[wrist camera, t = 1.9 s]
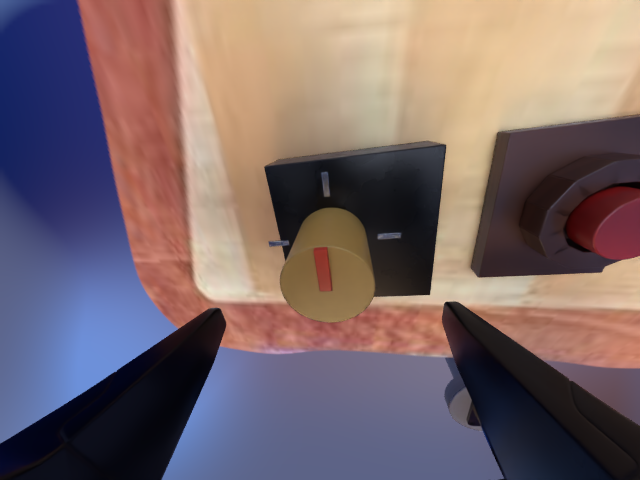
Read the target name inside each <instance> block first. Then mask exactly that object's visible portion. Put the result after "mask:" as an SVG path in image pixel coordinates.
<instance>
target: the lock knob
mask: <svg viewBox="0 0 640 480" xmlns="http://www.w3.org/2000/svg"><path fill="white" fill-rule="evenodd" d="M280 287H281V291H282V294H283V296H284V298H285V300H286V301H287V303H288V304H289V305H290V306H291V307H292V308H293V309H294V310H295V311H297V312H298V313H299V314H301V315H303V316H305V317H307V318H309V319H312V320H316V321H320V322H341V321H345V320H348V319H351V318H353V317H355V316H357V315H359V314H360V313H362V312H363V311H364V310H365V309H366V308H367V307H368V306H369V304H370V302H371V301H372V299H373V296H374V293H375V278H374V273H373V268H372V262H371V257H370V252H369V247H368V241H367V236H366V232H365V228H364V226H363V224H362V223H361V221H360V220H359V219H358V218H357V217H356V216H355V215H353V214H352V213H350V212H348V211H346V210H344V209H340V208H323V209H320V210H317V211H315V212H314V213H312V214H310V215H309V216H308V217H307V218H306V219H305V220H304V222H303V223H302V225H301V227H300V230H299V232H298V234H297V237H296V239H295V241H294V243H293V246H292V248H291V250H290V253H289V255H288V257H287V259H286V262H285V264H284V266H283V269H282V272H281V275H280Z"/></svg>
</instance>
